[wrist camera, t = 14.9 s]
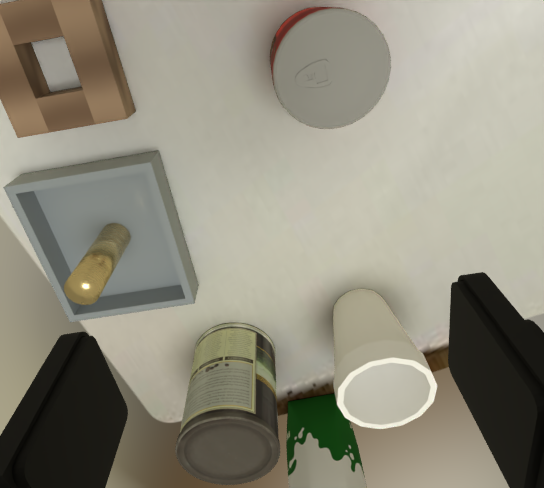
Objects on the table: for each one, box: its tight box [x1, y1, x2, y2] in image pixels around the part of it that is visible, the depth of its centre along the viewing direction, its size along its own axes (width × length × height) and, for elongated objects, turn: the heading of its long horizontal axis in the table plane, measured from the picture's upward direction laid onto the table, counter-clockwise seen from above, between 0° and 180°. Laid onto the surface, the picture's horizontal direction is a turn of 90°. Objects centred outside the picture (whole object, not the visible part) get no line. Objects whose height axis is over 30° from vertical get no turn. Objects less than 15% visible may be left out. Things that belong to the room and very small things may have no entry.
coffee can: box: [176, 323, 280, 485], centre depth 49 cm, size 10×10×14 cm
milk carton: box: [287, 394, 367, 488], centre depth 53 cm, size 9×9×20 cm
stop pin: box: [64, 223, 131, 305], centre depth 42 cm, size 3×3×10 cm
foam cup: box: [333, 289, 437, 429], centre depth 47 cm, size 10×9×13 cm
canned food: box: [270, 7, 391, 129], centre depth 34 cm, size 8×8×11 cm
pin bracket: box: [0, 0, 136, 138], centre depth 37 cm, size 10×10×3 cm
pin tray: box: [4, 151, 199, 322], centre depth 45 cm, size 16×14×4 cm
